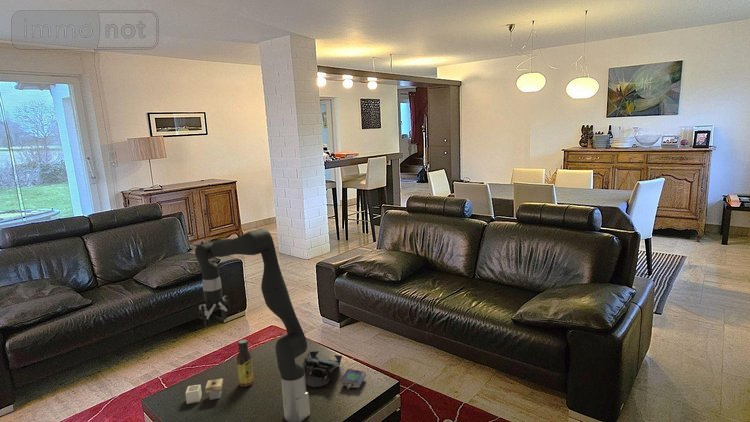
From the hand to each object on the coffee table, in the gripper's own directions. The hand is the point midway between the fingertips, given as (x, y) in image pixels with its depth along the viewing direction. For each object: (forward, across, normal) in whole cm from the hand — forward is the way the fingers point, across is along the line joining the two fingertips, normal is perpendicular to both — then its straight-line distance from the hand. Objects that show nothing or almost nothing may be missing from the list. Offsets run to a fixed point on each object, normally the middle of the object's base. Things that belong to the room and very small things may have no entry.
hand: (216, 322), depth 186 cm
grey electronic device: (+29, +32, -51) cm, 66 cm away
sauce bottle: (+28, +4, -11) cm, 30 cm away
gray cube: (+28, -9, -7) cm, 30 cm away
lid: (+24, -9, -7) cm, 26 cm away
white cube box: (+28, -15, -1) cm, 32 cm away
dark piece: (+28, +25, -36) cm, 52 cm away
